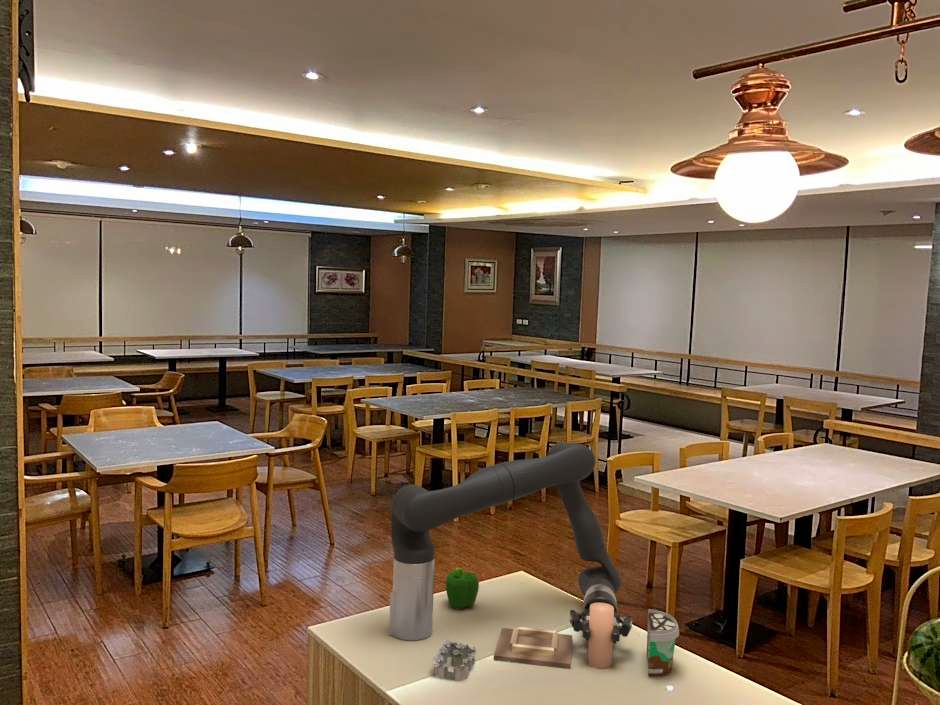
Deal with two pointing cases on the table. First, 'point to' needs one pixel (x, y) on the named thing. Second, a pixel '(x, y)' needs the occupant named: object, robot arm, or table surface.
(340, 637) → the table surface
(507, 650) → the board
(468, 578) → the bell pepper
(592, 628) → the terracotta pin
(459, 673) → the egg carton
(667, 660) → the food container
